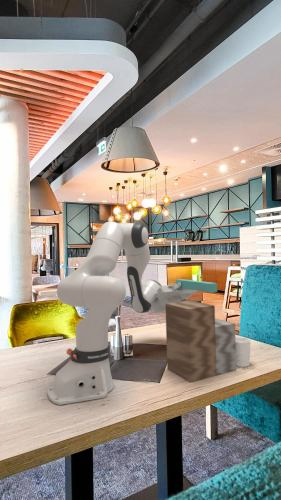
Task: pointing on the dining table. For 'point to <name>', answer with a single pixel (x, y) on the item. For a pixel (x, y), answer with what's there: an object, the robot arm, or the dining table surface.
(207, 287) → the teal bar
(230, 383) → the dining table surface
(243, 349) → the white cup
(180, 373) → the stand
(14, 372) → the dining table surface
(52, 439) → the dining table surface
